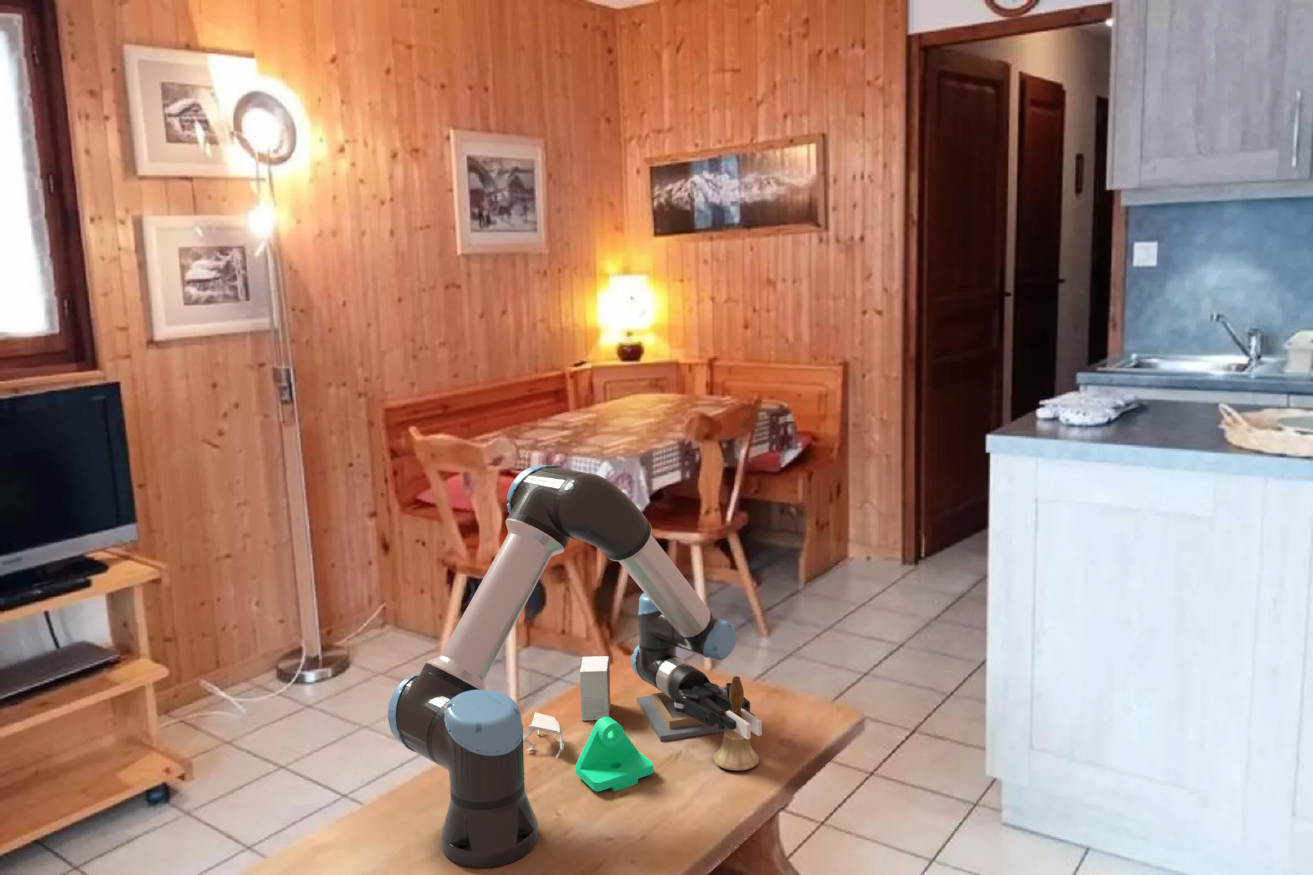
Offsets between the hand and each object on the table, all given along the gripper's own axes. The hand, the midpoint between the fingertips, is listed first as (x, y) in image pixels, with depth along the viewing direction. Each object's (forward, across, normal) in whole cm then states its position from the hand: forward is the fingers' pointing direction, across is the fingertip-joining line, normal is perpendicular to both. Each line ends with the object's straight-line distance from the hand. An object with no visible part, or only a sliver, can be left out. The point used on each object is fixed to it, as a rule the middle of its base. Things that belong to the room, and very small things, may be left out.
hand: (754, 730), depth 182 cm
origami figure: (-29, +27, -9) cm, 41 cm away
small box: (-38, +12, -9) cm, 41 cm away
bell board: (-26, -4, -8) cm, 28 cm away
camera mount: (-13, +21, -9) cm, 26 cm away
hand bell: (-6, 0, -8) cm, 10 cm away
